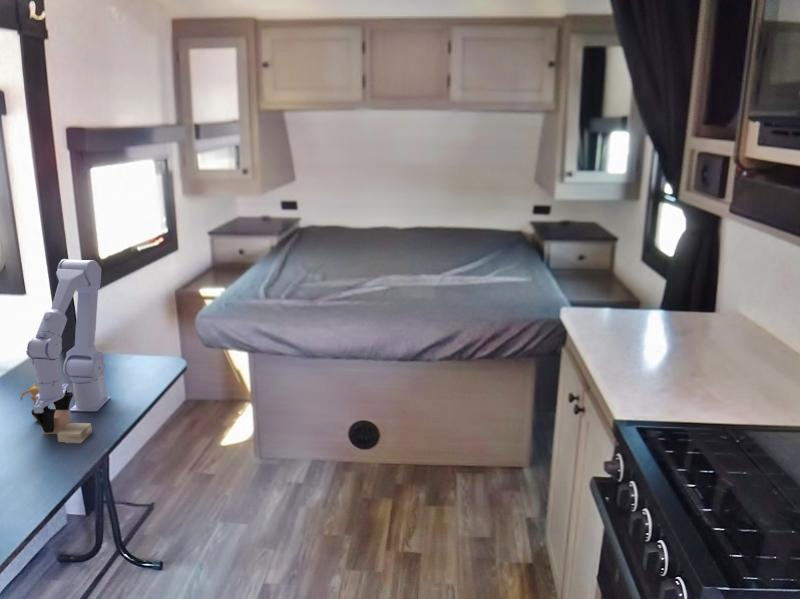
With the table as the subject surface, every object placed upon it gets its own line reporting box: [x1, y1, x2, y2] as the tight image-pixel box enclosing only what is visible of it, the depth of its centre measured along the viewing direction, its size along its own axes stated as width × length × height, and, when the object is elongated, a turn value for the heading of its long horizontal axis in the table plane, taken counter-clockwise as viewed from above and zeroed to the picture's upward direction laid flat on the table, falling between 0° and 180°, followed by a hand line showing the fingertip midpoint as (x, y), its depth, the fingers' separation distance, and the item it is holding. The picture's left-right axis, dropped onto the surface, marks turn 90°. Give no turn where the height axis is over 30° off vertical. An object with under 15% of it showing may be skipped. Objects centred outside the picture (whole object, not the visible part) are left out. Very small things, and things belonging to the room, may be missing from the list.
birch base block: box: [57, 422, 93, 444], centre depth 170 cm, size 6×6×3 cm
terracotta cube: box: [41, 410, 71, 435], centre depth 173 cm, size 5×5×5 cm
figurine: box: [19, 383, 39, 421], centre depth 177 cm, size 8×6×12 cm
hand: (56, 425), depth 174 cm, fingers open, 7 cm apart
